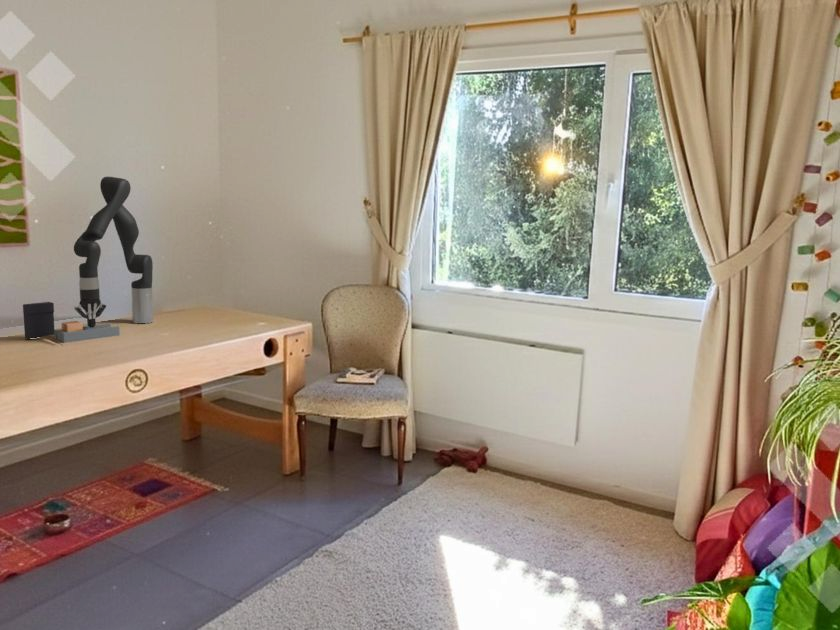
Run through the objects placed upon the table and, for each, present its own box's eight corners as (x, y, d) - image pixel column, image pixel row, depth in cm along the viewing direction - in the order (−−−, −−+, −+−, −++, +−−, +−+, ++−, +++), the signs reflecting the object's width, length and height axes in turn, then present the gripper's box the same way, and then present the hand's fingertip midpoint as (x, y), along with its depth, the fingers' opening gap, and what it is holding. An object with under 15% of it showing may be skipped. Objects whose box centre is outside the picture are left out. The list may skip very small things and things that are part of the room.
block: (62, 338, 276) (61, 322, 275) (77, 337, 281) (76, 321, 280) (68, 341, 273) (67, 324, 271) (83, 339, 277) (82, 323, 276)
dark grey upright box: (50, 335, 287) (48, 301, 284) (55, 336, 284) (53, 302, 282) (24, 339, 278) (21, 304, 275) (28, 340, 275) (26, 305, 273)
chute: (51, 340, 276) (50, 329, 275) (112, 332, 296) (112, 322, 295) (63, 345, 268) (62, 334, 268) (125, 337, 288) (125, 326, 287)
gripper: (101, 285, 287) (103, 323, 290) (69, 287, 277) (71, 327, 280) (109, 287, 282) (111, 326, 285) (77, 290, 272) (79, 330, 275)
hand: (91, 327), depth 283 cm, fingers closed
